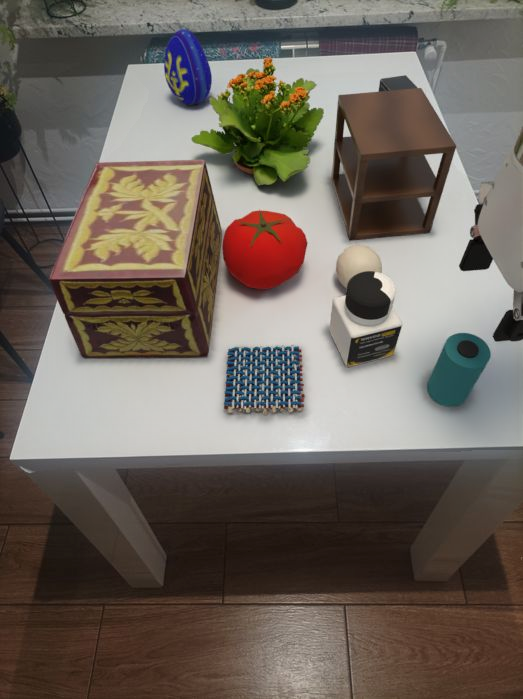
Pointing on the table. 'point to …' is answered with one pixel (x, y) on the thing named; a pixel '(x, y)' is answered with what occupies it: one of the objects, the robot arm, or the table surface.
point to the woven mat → (264, 379)
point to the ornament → (187, 68)
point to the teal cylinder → (458, 369)
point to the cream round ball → (356, 262)
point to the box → (396, 83)
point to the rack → (388, 162)
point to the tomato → (264, 249)
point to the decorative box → (141, 261)
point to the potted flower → (264, 124)
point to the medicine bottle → (365, 319)
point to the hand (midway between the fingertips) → (489, 301)
